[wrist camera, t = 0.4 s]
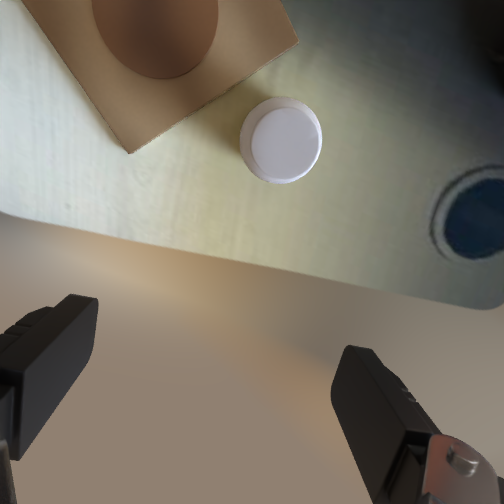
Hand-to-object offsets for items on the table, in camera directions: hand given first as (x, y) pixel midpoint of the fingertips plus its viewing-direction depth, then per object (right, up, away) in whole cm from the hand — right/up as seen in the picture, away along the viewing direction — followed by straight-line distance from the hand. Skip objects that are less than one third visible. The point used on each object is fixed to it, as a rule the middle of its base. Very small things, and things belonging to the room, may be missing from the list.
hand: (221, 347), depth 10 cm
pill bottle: (+3, +13, +17) cm, 22 cm away
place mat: (-6, +21, +14) cm, 26 cm away
